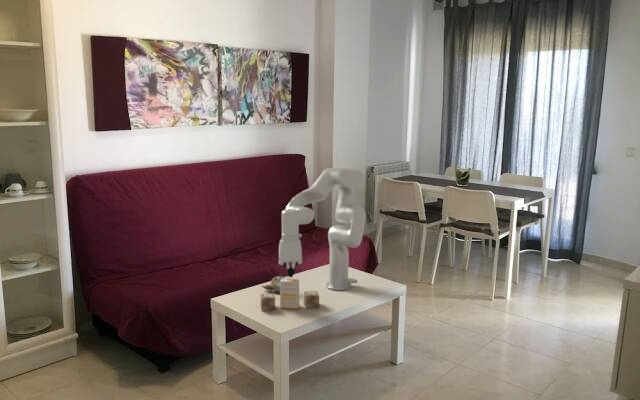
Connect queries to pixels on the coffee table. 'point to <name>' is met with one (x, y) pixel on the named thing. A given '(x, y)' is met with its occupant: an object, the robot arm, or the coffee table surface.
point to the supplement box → (289, 293)
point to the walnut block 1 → (268, 302)
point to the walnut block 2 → (311, 299)
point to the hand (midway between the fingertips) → (290, 276)
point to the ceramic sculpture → (274, 284)
